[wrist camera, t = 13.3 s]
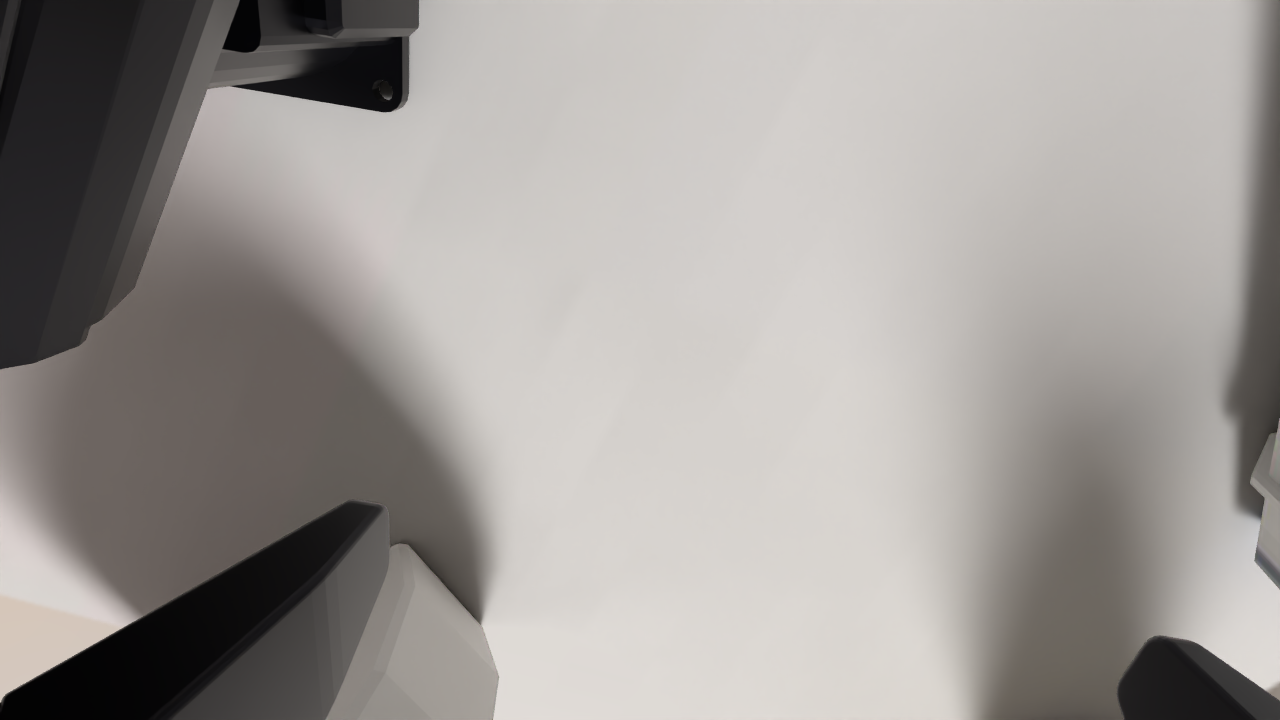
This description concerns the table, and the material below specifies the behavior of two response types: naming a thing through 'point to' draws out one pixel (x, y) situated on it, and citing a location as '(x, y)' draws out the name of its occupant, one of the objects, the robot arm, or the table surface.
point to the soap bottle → (418, 653)
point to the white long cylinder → (1269, 507)
